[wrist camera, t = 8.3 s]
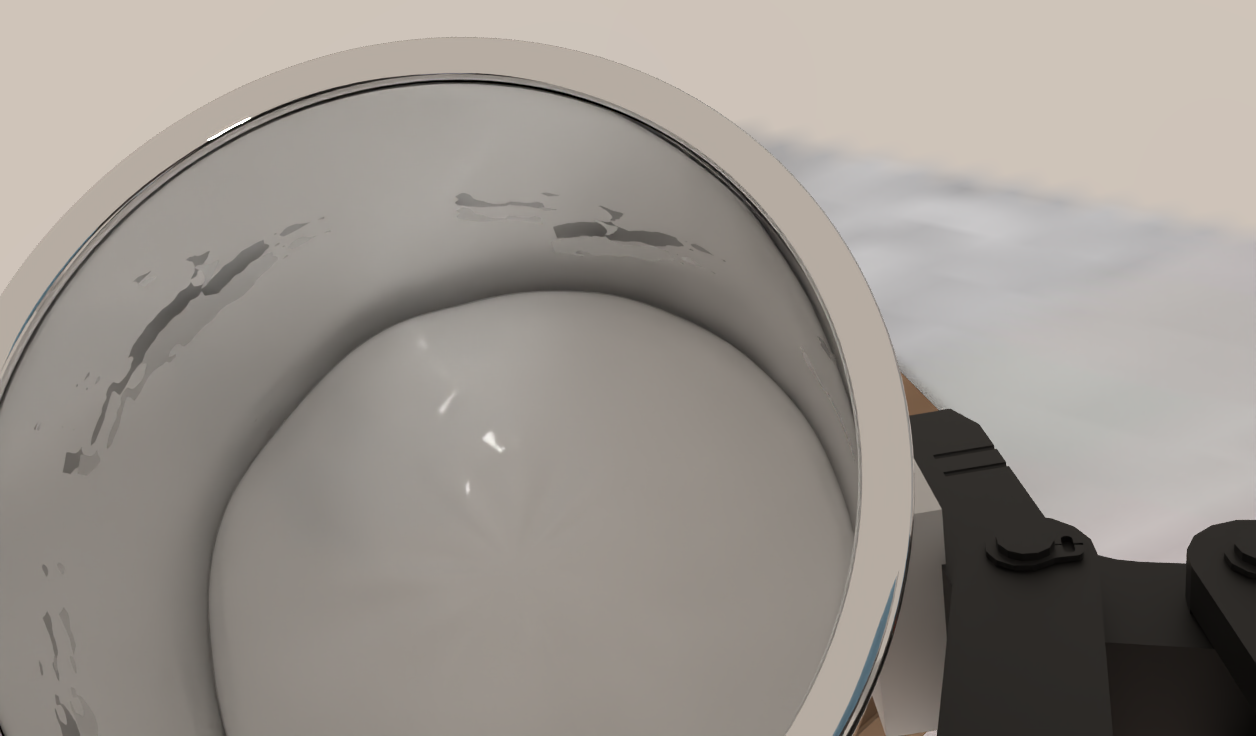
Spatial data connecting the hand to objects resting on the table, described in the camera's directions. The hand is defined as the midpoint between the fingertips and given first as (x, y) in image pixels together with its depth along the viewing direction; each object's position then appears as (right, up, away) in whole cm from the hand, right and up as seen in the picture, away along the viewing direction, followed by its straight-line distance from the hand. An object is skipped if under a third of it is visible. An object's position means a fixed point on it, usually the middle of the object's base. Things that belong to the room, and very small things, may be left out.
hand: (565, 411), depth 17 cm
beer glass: (+1, -5, +4) cm, 7 cm away
